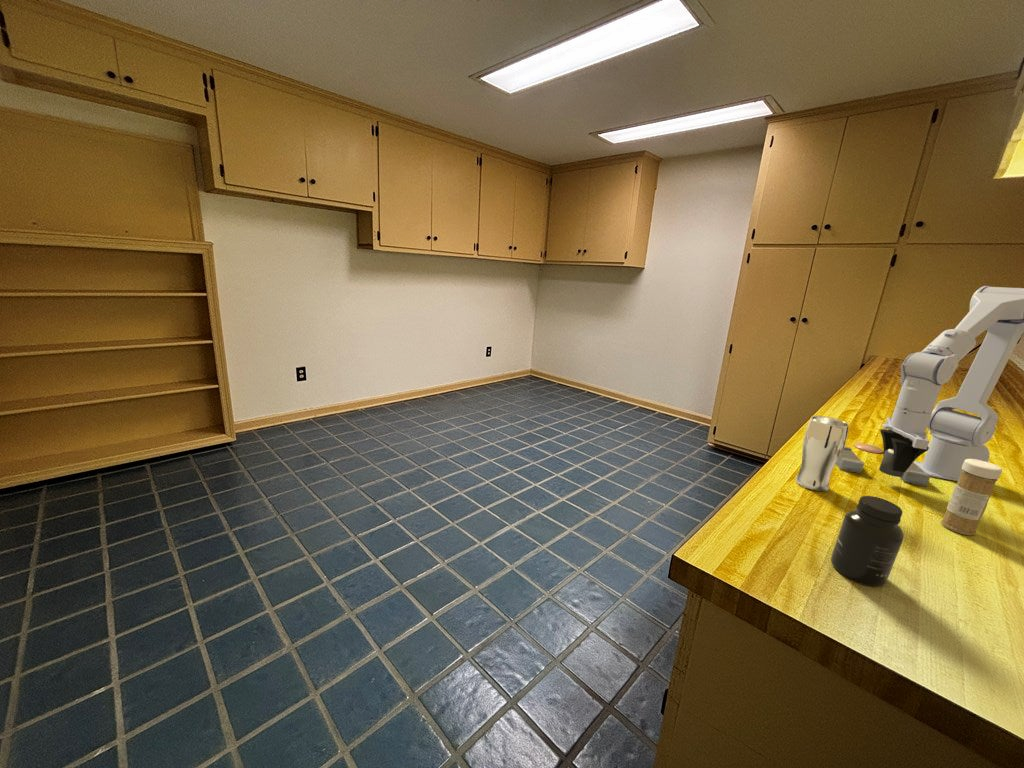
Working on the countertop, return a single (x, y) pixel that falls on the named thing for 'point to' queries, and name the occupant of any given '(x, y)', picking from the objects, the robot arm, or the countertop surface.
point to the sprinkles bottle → (971, 496)
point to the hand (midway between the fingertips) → (893, 466)
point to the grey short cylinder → (889, 464)
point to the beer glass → (821, 451)
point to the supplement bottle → (869, 541)
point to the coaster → (868, 448)
